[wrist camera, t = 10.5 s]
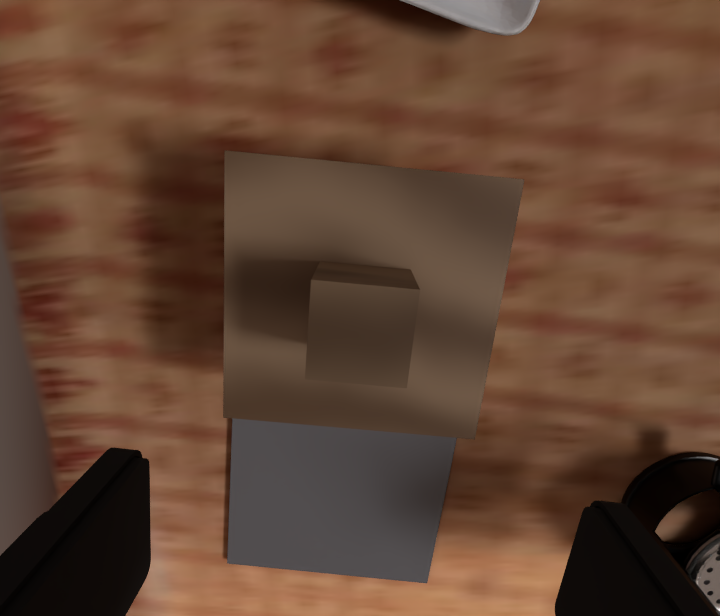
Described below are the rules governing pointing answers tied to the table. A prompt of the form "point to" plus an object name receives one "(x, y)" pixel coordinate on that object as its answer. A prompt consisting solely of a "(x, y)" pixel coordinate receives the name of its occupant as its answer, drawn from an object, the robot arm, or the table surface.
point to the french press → (662, 493)
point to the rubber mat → (336, 499)
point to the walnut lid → (361, 292)
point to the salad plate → (484, 13)
